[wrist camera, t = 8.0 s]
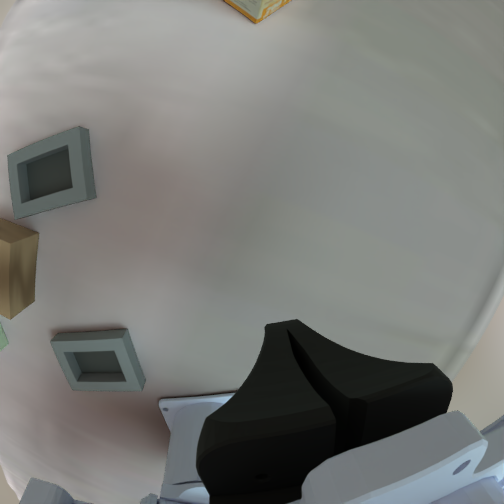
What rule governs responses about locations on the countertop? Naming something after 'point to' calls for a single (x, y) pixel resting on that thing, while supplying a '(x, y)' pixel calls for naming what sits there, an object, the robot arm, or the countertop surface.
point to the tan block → (17, 267)
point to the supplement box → (257, 7)
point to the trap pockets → (50, 197)
